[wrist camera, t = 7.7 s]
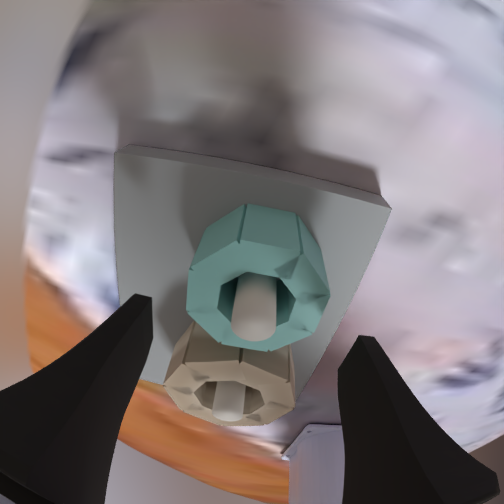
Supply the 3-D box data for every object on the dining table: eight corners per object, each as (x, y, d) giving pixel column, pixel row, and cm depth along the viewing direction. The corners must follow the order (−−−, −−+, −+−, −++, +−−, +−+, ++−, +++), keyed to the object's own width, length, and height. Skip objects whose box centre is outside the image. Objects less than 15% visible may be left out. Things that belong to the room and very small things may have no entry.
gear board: (291, 391, 22) (292, 454, 17) (137, 361, 21) (114, 421, 17) (381, 195, 14) (428, 260, 9) (128, 144, 13) (60, 186, 8)
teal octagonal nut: (299, 311, 16) (302, 356, 13) (198, 293, 15) (184, 336, 13) (331, 220, 13) (345, 259, 10) (209, 196, 13) (191, 230, 10)
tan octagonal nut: (297, 384, 19) (298, 423, 16) (199, 389, 20) (192, 425, 18) (284, 310, 16) (284, 356, 13) (162, 321, 17) (146, 362, 14)
